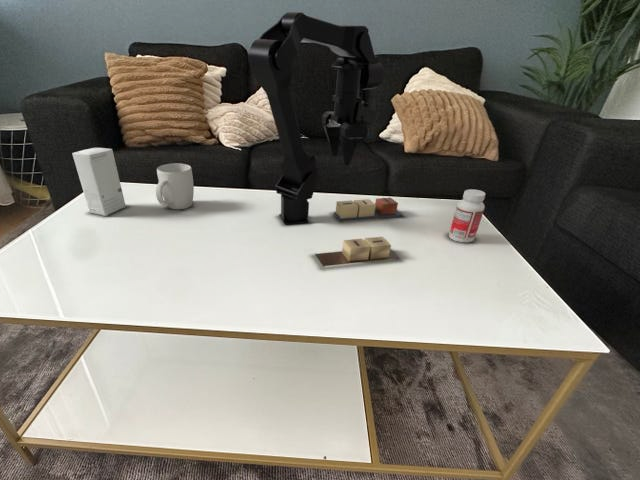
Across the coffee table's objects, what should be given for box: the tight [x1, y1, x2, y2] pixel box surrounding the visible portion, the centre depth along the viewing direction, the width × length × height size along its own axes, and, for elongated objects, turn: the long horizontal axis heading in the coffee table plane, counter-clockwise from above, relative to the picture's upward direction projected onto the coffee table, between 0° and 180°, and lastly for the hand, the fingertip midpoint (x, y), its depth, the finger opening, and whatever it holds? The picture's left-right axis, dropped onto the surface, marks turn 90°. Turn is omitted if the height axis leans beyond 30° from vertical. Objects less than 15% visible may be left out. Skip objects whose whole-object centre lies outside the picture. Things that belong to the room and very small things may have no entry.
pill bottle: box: [448, 188, 486, 243], centre depth 97 cm, size 6×6×11 cm
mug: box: [155, 162, 195, 210], centre depth 110 cm, size 13×9×10 cm
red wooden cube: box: [374, 197, 399, 215], centre depth 111 cm, size 4×4×3 cm
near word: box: [314, 236, 400, 267], centre depth 90 cm, size 18×6×4 cm, turn 105°
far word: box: [333, 198, 404, 222], centre depth 110 cm, size 18×6×4 cm, turn 105°
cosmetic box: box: [72, 147, 127, 217], centre depth 106 cm, size 8×6×15 cm
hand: (340, 160), depth 109 cm, fingers open, 9 cm apart
